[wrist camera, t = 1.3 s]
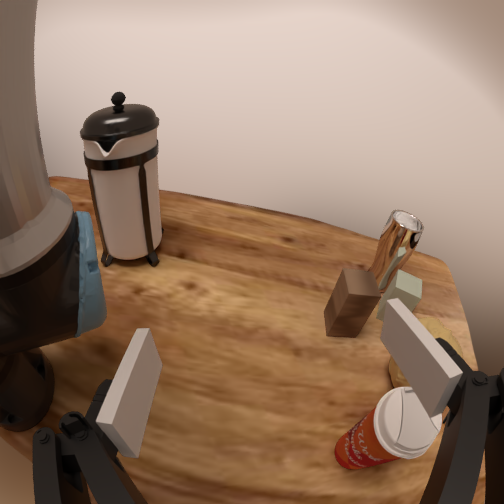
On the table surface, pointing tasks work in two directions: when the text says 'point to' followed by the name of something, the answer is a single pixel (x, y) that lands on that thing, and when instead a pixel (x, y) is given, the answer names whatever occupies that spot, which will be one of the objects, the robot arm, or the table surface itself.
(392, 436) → the paper cup
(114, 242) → the coffee press
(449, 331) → the sculpture
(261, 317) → the table surface
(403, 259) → the beer glass
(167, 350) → the table surface
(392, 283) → the sage block
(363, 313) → the walnut block
